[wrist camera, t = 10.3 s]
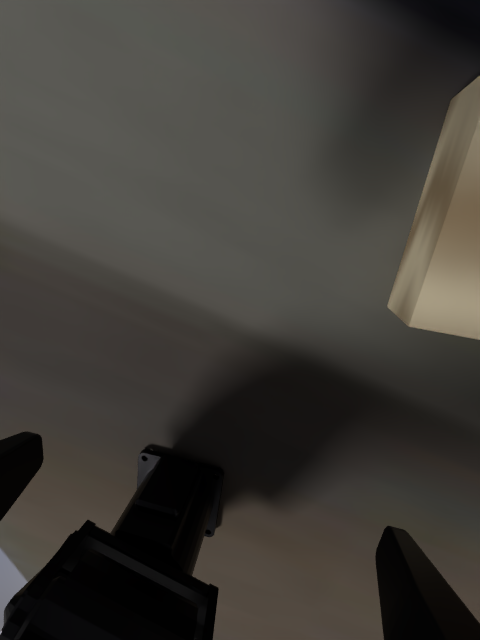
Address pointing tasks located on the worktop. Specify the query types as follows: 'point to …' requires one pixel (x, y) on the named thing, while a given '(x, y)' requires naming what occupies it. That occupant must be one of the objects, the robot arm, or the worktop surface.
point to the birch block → (446, 231)
